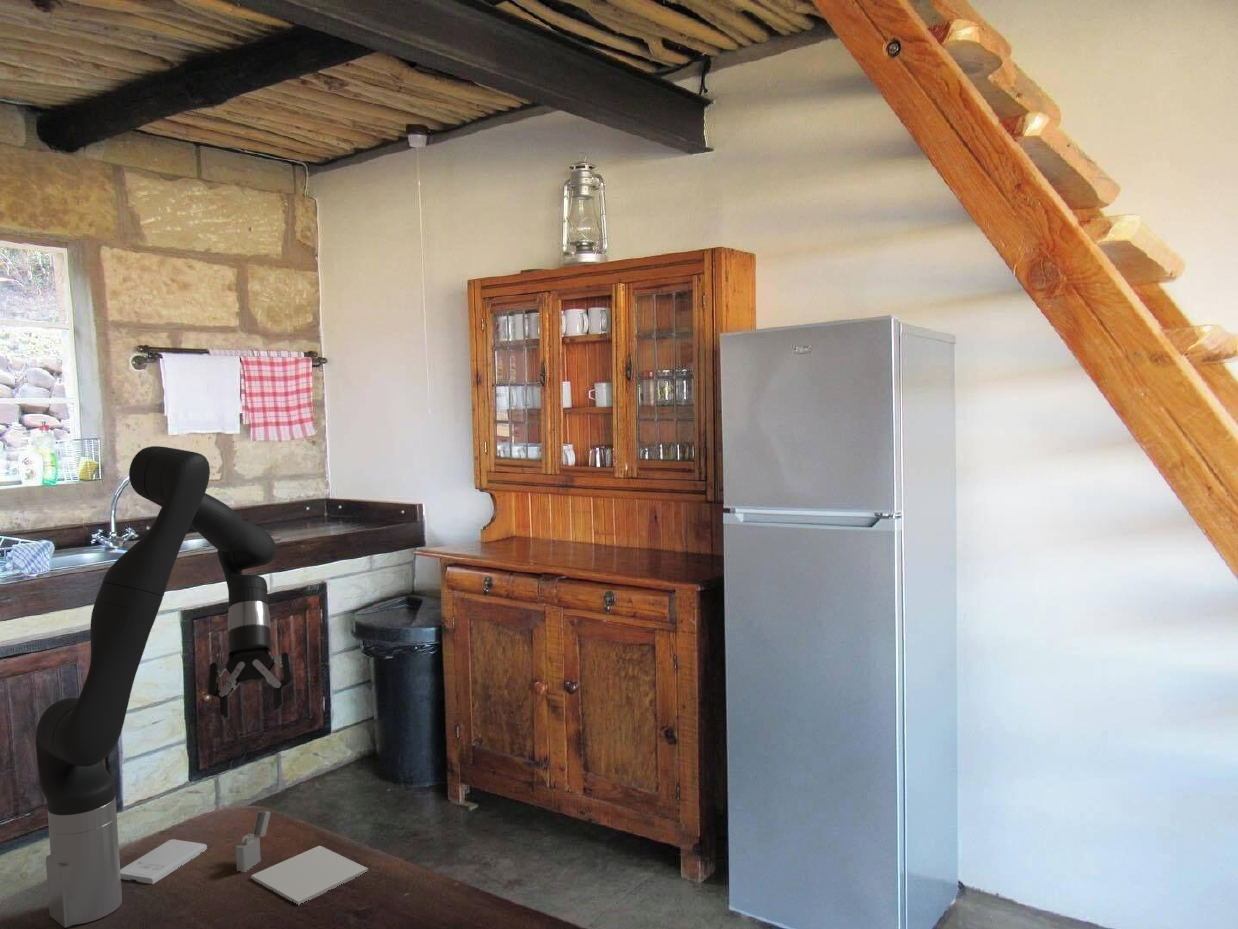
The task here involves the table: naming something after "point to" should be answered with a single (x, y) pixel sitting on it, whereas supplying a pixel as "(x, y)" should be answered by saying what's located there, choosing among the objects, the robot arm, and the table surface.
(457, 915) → the table surface
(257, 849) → the lighter
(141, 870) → the external hard drive
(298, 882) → the mat
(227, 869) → the table surface
